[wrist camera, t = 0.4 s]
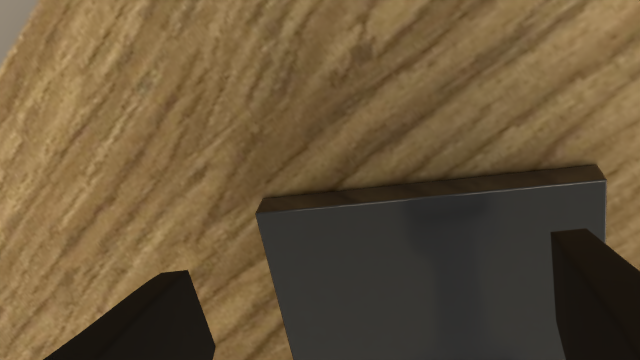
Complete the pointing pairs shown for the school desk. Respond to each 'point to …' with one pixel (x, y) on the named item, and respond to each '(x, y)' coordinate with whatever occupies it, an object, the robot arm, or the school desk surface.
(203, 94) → the school desk surface
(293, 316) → the board
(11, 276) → the school desk surface
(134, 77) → the school desk surface
